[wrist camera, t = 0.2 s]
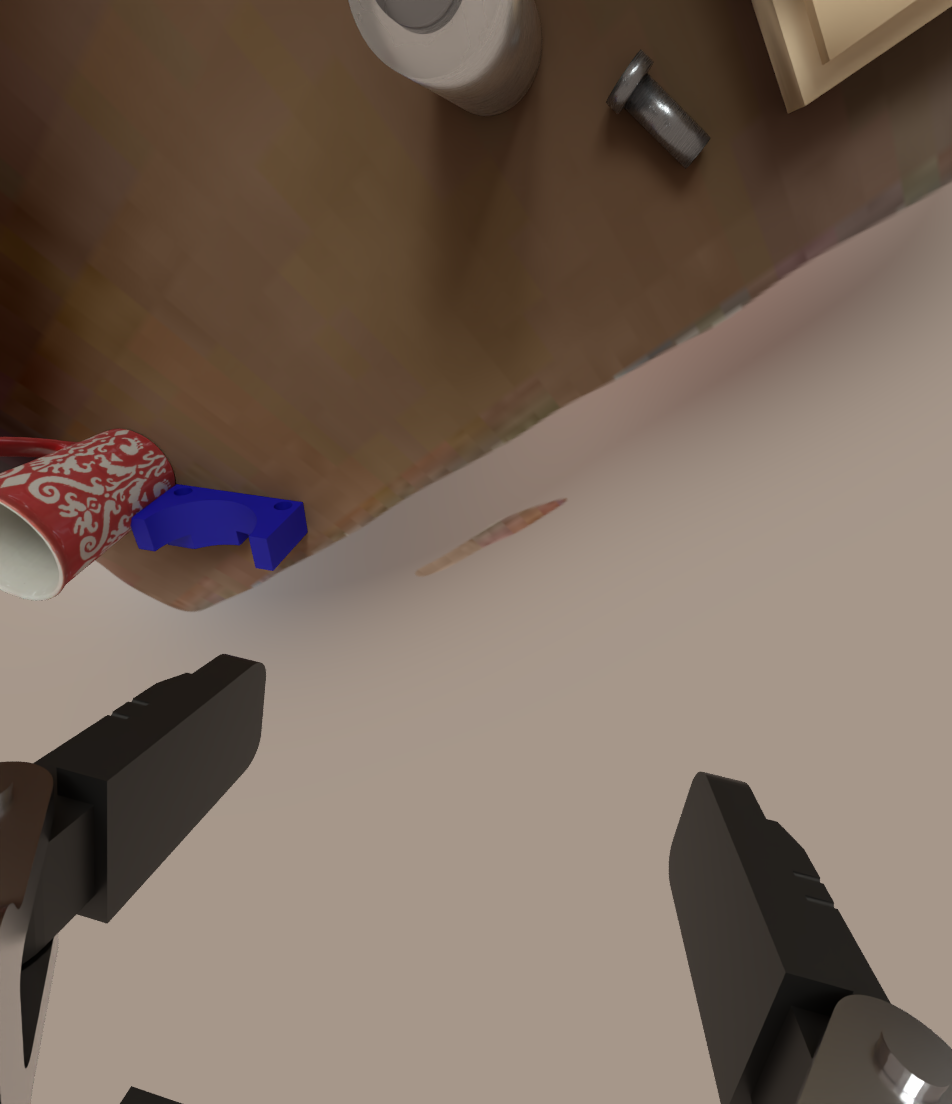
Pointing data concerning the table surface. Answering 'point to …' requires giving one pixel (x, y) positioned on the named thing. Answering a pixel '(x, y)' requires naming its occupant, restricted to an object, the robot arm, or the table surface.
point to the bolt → (657, 111)
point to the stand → (833, 38)
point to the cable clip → (221, 522)
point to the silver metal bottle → (457, 47)
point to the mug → (71, 505)
